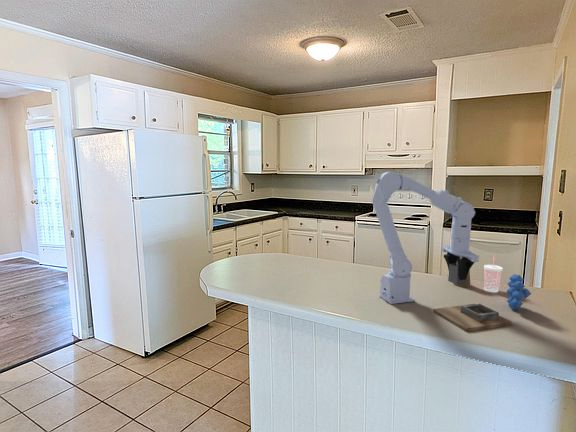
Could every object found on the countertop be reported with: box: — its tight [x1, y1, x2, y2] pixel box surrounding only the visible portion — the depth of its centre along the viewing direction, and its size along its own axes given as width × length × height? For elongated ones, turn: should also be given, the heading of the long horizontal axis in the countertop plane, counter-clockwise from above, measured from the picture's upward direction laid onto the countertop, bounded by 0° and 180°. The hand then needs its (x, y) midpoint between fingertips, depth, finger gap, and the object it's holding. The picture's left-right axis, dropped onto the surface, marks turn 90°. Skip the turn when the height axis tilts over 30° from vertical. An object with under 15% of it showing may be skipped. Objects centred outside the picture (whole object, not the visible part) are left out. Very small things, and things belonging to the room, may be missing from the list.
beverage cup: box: [483, 253, 504, 293], centre depth 131 cm, size 6×6×14 cm
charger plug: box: [447, 262, 467, 285], centre depth 119 cm, size 4×4×7 cm
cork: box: [452, 257, 472, 288], centre depth 137 cm, size 6×6×11 cm
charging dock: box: [432, 303, 513, 333], centre depth 108 cm, size 16×14×3 cm
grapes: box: [505, 274, 532, 311], centre depth 113 cm, size 12×7×12 cm, turn 157°
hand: (457, 277), depth 119 cm, fingers closed on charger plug, 4 cm apart
